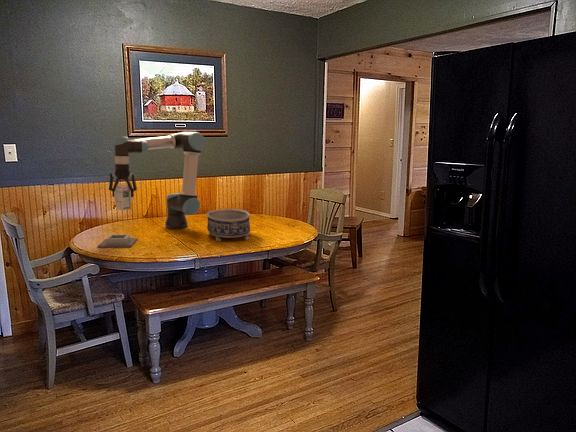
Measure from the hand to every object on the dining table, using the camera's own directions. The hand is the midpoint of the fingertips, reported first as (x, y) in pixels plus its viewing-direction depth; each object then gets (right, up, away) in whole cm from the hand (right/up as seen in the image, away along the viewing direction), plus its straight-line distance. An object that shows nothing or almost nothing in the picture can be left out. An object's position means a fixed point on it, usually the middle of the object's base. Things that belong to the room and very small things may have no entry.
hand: (123, 202), depth 261 cm
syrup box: (0, -4, +1) cm, 4 cm away
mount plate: (-2, -24, -3) cm, 24 cm away
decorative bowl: (+59, -21, +20) cm, 66 cm away
